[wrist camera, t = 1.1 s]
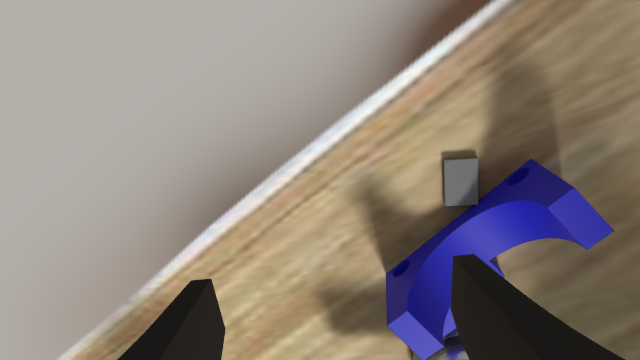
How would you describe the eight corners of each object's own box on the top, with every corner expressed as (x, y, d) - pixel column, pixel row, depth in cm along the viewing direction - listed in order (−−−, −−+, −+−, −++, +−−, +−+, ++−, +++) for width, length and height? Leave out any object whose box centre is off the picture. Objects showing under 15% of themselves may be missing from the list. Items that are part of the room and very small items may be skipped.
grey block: (476, 202, 26) (478, 204, 25) (444, 203, 26) (445, 206, 26) (476, 157, 25) (478, 158, 25) (443, 159, 25) (444, 160, 25)
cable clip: (429, 315, 29) (441, 377, 23) (386, 272, 28) (387, 325, 23) (577, 208, 25) (633, 252, 20) (530, 158, 25) (574, 187, 19)
